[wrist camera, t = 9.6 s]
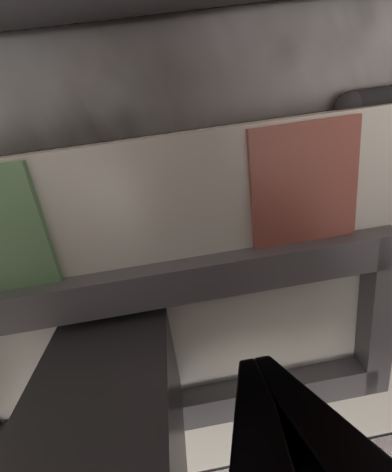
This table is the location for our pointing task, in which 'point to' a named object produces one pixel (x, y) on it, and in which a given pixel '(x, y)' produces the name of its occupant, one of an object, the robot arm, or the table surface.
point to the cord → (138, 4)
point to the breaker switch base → (213, 258)
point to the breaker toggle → (101, 401)
